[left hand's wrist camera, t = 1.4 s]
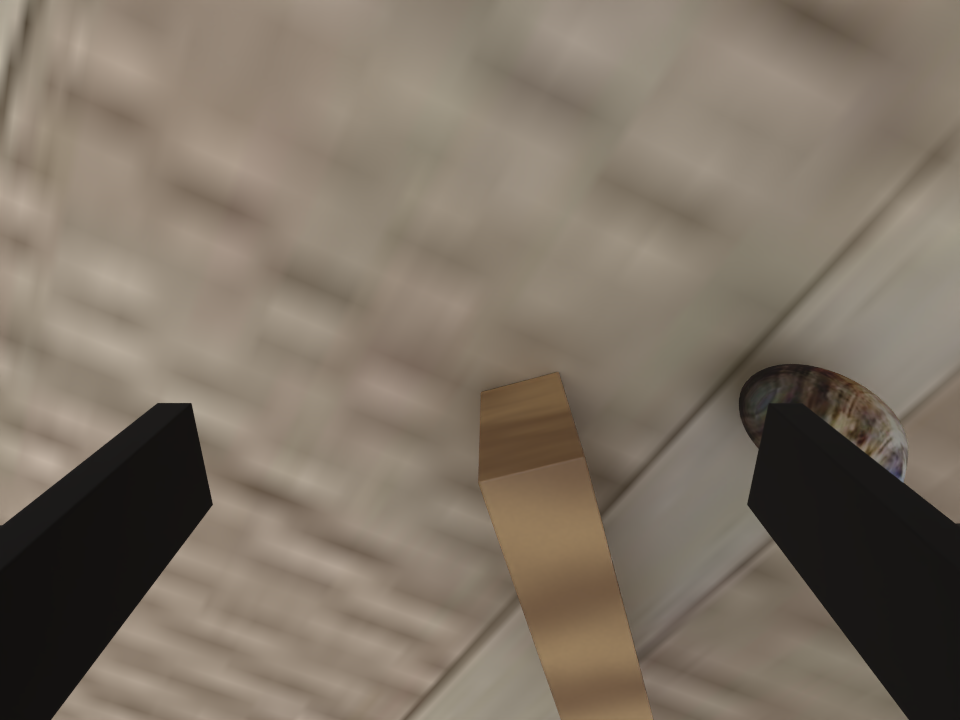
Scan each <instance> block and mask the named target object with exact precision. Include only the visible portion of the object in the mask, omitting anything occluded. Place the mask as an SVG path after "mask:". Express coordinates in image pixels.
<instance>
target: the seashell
mask: <svg viewBox="0 0 960 720" xmlns="http://www.w3.org/2000/svg"><path fill="white" fill-rule="evenodd" d="M769 403H803V404H804V405H805V406H807V407H808V408H809V409H810V410H812V411H813V412H814V413H815V414H817V415H818V416H819V417H821V418H822V419H823V420H824V421H826V422H827V423H828V424H829V425H831V426H832V427H833V428H834V429H836V430H837V431H838V432H840V433H841V434H842V435H843V436H845V437H846V438H847V439H848V440H850V441H851V442H852V443H854V444H855V445H856V446H857V447H859V448H860V449H861V450H862V451H864V452H865V453H866V454H868V455H869V456H870V457H871V458H873V459H874V460H875V461H876V462H878V463H879V464H880V465H881V466H883V467H884V468H885V469H887V470H888V471H889V472H890V473H892V474H893V475H894V476H895V477H897V478H898V479H899V480H901V481H902V482H904V477H905V472H906V468H907V460H908V442H907V437H906V434H905V431H904V429H903V427H902V425H901V423H900V421H899V419H898V418H897V416H896V415H895V414H894V413H893V411H892V410H891V409H890V408H889V407H888V406H887V405H886V404H885V403H884V402H883V401H882V400H881V399H880V398H879V397H877V396H876V395H875V394H873V393H872V392H871V391H869V390H868V389H867V388H865V387H863V386H862V385H860V384H858V383H857V382H855V381H853V380H851V379H849V378H847V377H845V376H842V375H840V374H838V373H835V372H832V371H829V370H826V369H822V368H818V367H814V366H808V365H799V364H785V365H777V366H772V367H769V368H766V369H764V370H761V371H759V372H757V373H756V374H754V375H753V376H752V377H751V378H750V379H749V380H748V381H747V382H746V383H745V385H744V386H743V388H742V390H741V393H740V398H739V412H740V417H741V420H742V423H743V425H744V428H745V430H746V432H747V433H748V435H749V437H750V438H751V440H752V441H753V442H754V444H755V445H756V446H757V447H758V448H759V446H760V442H761V437H762V432H763V428H764V423H765V418H766V413H767V409H768V404H769Z"/></svg>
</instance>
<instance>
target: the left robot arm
mask: <svg viewBox="0 0 960 720" xmlns="http://www.w3.org/2000/svg"><path fill="white" fill-rule="evenodd" d="M212 505H213V503H212V499H211V494H210V489H209V484H208V480H207V475H206V470H205V465H204V461H203V456H202V451H201V446H200V442H199V437H198V432H197V428H196V423H195V418H194V413H193V409H192V404H191V403H157V404H156V405H155V406H153V407H152V408H151V409H150V410H148V411H147V412H146V413H145V414H143V415H142V416H141V417H139V418H138V419H137V420H136V421H134V422H133V423H132V424H131V425H129V426H128V427H127V428H126V429H124V430H123V431H122V432H120V433H119V434H118V435H117V436H115V437H114V438H113V439H112V440H110V441H109V442H108V443H106V444H105V445H104V446H103V447H101V448H100V449H99V450H98V451H96V452H95V453H94V454H92V455H91V456H90V457H89V458H87V459H86V460H85V461H84V462H82V463H81V464H80V465H79V466H77V467H76V468H75V469H73V470H72V471H71V472H70V473H68V474H67V475H66V476H65V477H63V478H62V479H61V480H59V481H58V482H57V483H56V484H54V485H53V486H52V487H51V488H49V489H48V490H47V491H45V492H44V493H43V494H42V495H40V496H39V497H38V498H37V499H35V500H34V501H33V502H32V503H30V504H29V505H28V506H26V507H25V508H24V509H23V510H21V511H20V512H19V513H18V514H16V515H15V516H14V517H12V518H11V519H10V520H9V521H7V522H6V523H5V524H4V525H0V720H51V719H52V718H53V716H54V715H55V714H56V712H57V711H58V710H59V708H60V707H61V706H62V704H63V703H64V702H65V700H66V699H67V698H68V697H69V695H70V694H71V693H72V691H73V690H74V689H75V687H76V686H77V685H78V683H79V682H80V681H81V679H82V678H83V677H84V675H85V674H86V673H87V671H88V670H89V669H90V667H91V666H92V665H93V663H94V662H95V661H96V659H97V658H98V657H99V655H100V654H101V653H102V651H103V650H104V649H105V647H106V646H107V645H108V643H109V642H110V641H111V639H112V638H113V637H114V635H115V634H116V633H117V631H118V630H119V629H120V627H121V626H122V625H123V623H124V622H125V621H126V619H127V618H128V617H129V615H130V614H131V613H132V611H133V610H134V609H135V607H136V606H137V605H138V603H139V602H140V601H141V599H142V598H143V597H144V595H145V594H146V593H147V591H148V590H149V589H150V587H151V586H152V585H153V584H154V582H155V581H156V580H157V578H158V577H159V576H160V574H161V573H162V572H163V570H164V569H165V568H166V566H167V565H168V564H169V562H170V561H171V560H172V558H173V557H174V556H175V554H176V553H177V552H178V550H179V549H180V548H181V546H182V545H183V544H184V542H185V541H186V540H187V538H188V537H189V536H190V534H191V533H192V532H193V530H194V529H195V528H196V526H197V525H198V524H199V522H200V521H201V520H202V518H203V517H204V516H205V514H206V513H207V512H208V510H209V509H210V508H211V506H212ZM747 505H748V506H749V508H750V509H751V510H752V512H753V513H754V514H755V516H756V517H757V518H758V520H759V521H760V522H761V524H762V525H763V526H764V528H765V529H766V530H767V532H768V533H769V534H770V536H771V537H772V538H773V540H774V541H775V542H776V544H777V545H778V546H779V548H780V549H781V550H782V552H783V553H784V554H785V556H786V557H787V558H788V560H789V561H790V562H791V564H792V565H793V566H794V568H795V569H796V570H797V572H798V573H799V574H800V576H801V577H802V578H803V580H804V581H805V582H806V584H807V585H808V586H809V587H810V589H811V590H812V591H813V593H814V594H815V595H816V597H817V598H818V599H819V601H820V602H821V603H822V605H823V606H824V607H825V609H826V610H827V611H828V613H829V614H830V615H831V617H832V618H833V619H834V621H835V622H836V623H837V625H838V626H839V627H840V629H841V630H842V631H843V633H844V634H845V635H846V637H847V638H848V639H849V641H850V642H851V643H852V645H853V646H854V647H855V649H856V650H857V651H858V653H859V654H860V655H861V657H862V658H863V659H864V661H865V662H866V663H867V665H868V666H869V667H870V669H871V670H872V671H873V673H874V674H875V675H876V677H877V678H878V679H879V681H880V682H881V683H882V685H883V686H884V687H885V689H886V690H887V691H888V693H889V694H890V695H891V697H892V698H893V699H894V700H895V702H896V703H897V704H898V706H899V707H900V708H901V710H902V711H903V712H904V714H905V715H906V716H907V718H908V719H909V720H960V524H955V523H954V522H953V521H951V520H950V519H949V518H948V517H946V516H945V515H944V514H942V513H941V512H940V511H939V510H937V509H936V508H935V507H934V506H932V505H931V504H930V503H928V502H927V501H926V500H925V499H923V498H922V497H921V496H920V495H918V494H917V493H916V492H915V491H913V490H912V489H911V488H909V487H908V486H907V485H906V484H904V483H903V482H902V481H901V480H899V479H898V478H897V477H895V476H894V475H893V474H892V473H890V472H889V471H888V470H887V469H885V468H884V467H883V466H881V465H880V464H879V463H878V462H876V461H875V460H874V459H873V458H871V457H870V456H869V455H868V454H866V453H865V452H864V451H862V450H861V449H860V448H859V447H857V446H856V445H855V444H854V443H852V442H851V441H850V440H848V439H847V438H846V437H845V436H843V435H842V434H841V433H840V432H838V431H837V430H836V429H834V428H833V427H832V426H831V425H829V424H828V423H827V422H826V421H824V420H823V419H822V418H821V417H819V416H818V415H817V414H815V413H814V412H813V411H812V410H810V409H809V408H808V407H807V406H805V405H804V404H803V403H769V404H768V409H767V413H766V418H765V423H764V428H763V432H762V437H761V442H760V446H759V451H758V456H757V461H756V465H755V470H754V475H753V480H752V484H751V489H750V494H749V499H748V503H747Z"/></svg>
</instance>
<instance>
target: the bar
mask: <svg viewBox="0 0 960 720" xmlns="http://www.w3.org/2000/svg"><path fill="white" fill-rule="evenodd" d="M478 483H479V486H480V489H481V492H482V495H483V498H484V501H485V503H486V506H487V509H488V512H489V515H490V518H491V521H492V523H493V526H494V529H495V532H496V535H497V538H498V541H499V544H500V546H501V549H502V552H503V555H504V558H505V561H506V564H507V566H508V569H509V572H510V575H511V578H512V581H513V584H514V586H515V589H516V592H517V595H518V598H519V601H520V604H521V607H522V609H523V612H524V615H525V618H526V621H527V624H528V627H529V629H530V632H531V635H532V638H533V641H534V644H535V647H536V649H537V652H538V655H539V658H540V661H541V664H542V667H543V670H544V672H545V675H546V678H547V681H548V684H549V687H550V690H551V692H552V695H553V698H554V701H555V704H556V707H557V710H558V712H559V715H560V718H561V720H654V719H653V716H652V712H651V708H650V704H649V700H648V696H647V693H646V689H645V685H644V681H643V677H642V673H641V670H640V666H639V662H638V658H637V654H636V650H635V647H634V643H633V639H632V635H631V631H630V627H629V624H628V620H627V616H626V612H625V608H624V604H623V601H622V597H621V593H620V589H619V585H618V581H617V578H616V574H615V570H614V566H613V562H612V558H611V555H610V551H609V547H608V543H607V539H606V535H605V532H604V528H603V524H602V520H601V516H600V512H599V509H598V505H597V501H596V497H595V493H594V489H593V486H592V482H591V478H590V474H589V470H588V466H587V463H586V459H585V455H584V452H583V449H582V446H581V442H580V439H579V436H578V433H577V429H576V426H575V423H574V420H573V417H572V413H571V410H570V407H569V404H568V400H567V397H566V394H565V391H564V388H563V384H562V381H561V378H560V375H559V372H556V373H552V374H549V375H545V376H541V377H537V378H533V379H530V380H526V381H522V382H518V383H514V384H511V385H507V386H503V387H499V388H495V389H492V390H488V391H484V392H481V408H480V441H479V474H478Z"/></svg>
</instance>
